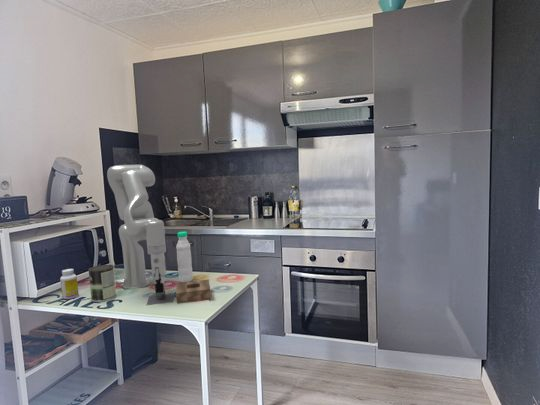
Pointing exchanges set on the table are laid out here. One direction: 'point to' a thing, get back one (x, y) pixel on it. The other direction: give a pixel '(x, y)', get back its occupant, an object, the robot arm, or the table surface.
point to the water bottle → (184, 258)
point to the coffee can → (102, 283)
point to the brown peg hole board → (193, 291)
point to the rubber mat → (153, 300)
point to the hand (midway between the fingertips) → (160, 290)
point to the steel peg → (161, 295)
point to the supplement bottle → (69, 284)
